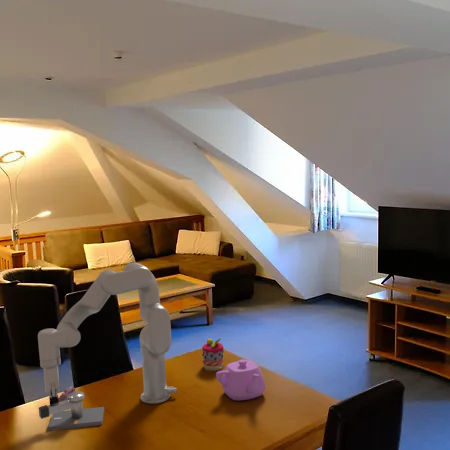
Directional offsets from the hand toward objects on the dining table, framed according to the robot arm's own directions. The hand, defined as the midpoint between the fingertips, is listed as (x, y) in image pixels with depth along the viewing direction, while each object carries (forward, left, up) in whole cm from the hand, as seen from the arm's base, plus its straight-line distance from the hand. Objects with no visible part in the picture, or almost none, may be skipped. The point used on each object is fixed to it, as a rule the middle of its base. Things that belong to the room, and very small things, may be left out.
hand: (54, 406), depth 198 cm
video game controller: (-1, -19, -8) cm, 21 cm away
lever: (-3, +2, -5) cm, 6 cm away
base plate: (-8, -1, -7) cm, 11 cm away
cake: (-68, -41, -7) cm, 80 cm away
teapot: (-77, -8, -8) cm, 78 cm away
